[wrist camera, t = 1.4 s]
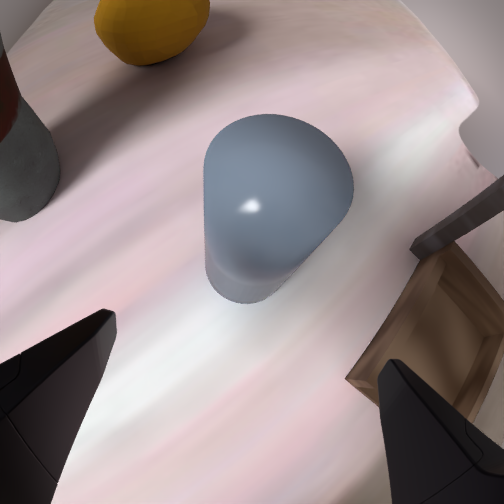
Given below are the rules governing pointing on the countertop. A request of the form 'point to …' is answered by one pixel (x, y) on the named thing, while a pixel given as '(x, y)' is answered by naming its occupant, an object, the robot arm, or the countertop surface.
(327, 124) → the countertop surface
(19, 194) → the bottle
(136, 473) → the countertop surface
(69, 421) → the robot arm
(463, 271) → the shelf bay
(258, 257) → the blue-grey tall cylinder
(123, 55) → the apple
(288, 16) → the countertop surface
